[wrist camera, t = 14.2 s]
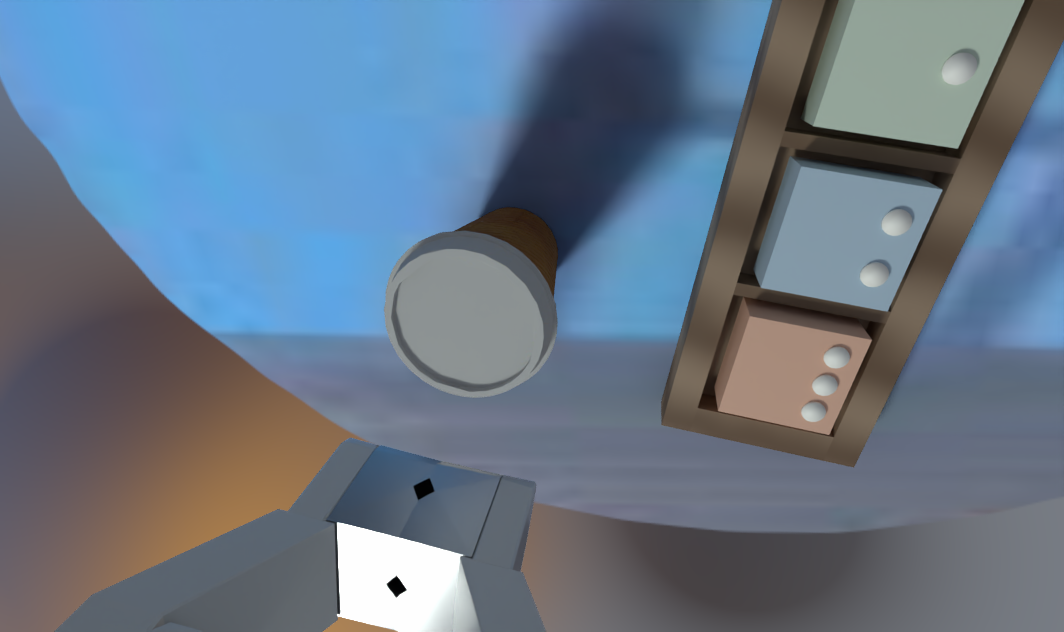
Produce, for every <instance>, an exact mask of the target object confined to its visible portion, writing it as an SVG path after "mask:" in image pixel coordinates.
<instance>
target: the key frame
mask: <svg viewBox="0 0 1064 632" xmlns="http://www.w3.org/2000/svg"><path fill="white" fill-rule="evenodd" d="M838 1H839V0H772V4H771V8H770V11H769V15H768V19H767V22H766V26H765V29H764V33H763V37H762V40H761V44H760V47H759V51H758V55H757V58H756V62H755V65H754V69H753V73H752V76H751V80H750V83H749V87H748V91H747V94H746V98H745V101H744V105H743V109H742V112H741V116H740V120H739V123H738V127H737V130H736V134H735V138H734V141H733V145H732V148H731V152H730V156H729V159H728V163H727V166H726V170H725V174H724V177H723V181H722V184H721V188H720V192H719V195H718V199H717V202H716V206H715V210H714V213H713V217H712V221H711V224H710V228H709V231H708V235H707V239H706V242H705V246H704V249H703V253H702V257H701V260H700V264H699V267H698V271H697V275H696V278H695V282H694V285H693V289H692V293H691V296H690V300H689V304H688V307H687V311H686V314H685V318H684V322H683V325H682V329H681V332H680V336H679V340H678V343H677V347H676V350H675V354H674V358H673V361H672V365H671V368H670V372H669V376H668V379H667V383H666V386H665V390H664V394H663V397H662V401H661V416H662V425H664V426H668V427H673V428H678V429H682V430H687V431H691V432H696V433H700V434H705V435H709V436H714V437H718V438H723V439H727V440H732V441H736V442H741V443H746V444H750V445H755V446H759V447H764V448H768V449H773V450H777V451H782V452H786V453H791V454H795V455H800V456H805V457H809V458H814V459H818V460H823V461H827V462H832V463H836V464H841V465H845V466H850V467H854V466H855V464H856V462H857V460H858V458H859V456H860V454H861V452H862V450H863V448H864V446H865V444H866V442H867V440H868V438H869V435H870V433H871V431H872V429H873V427H874V425H875V423H876V421H877V419H878V417H879V415H880V413H881V411H882V409H883V407H884V405H885V403H886V401H887V399H888V397H889V395H890V393H891V391H892V389H893V387H894V385H895V383H896V380H897V378H898V376H899V374H900V372H901V370H902V368H903V366H904V364H905V362H906V360H907V358H908V356H909V354H910V352H911V350H912V348H913V346H914V344H915V342H916V340H917V338H918V336H919V334H920V332H921V330H922V328H923V325H924V323H925V321H926V319H927V317H928V315H929V313H930V311H931V309H932V307H933V305H934V303H935V301H936V299H937V297H938V295H939V293H940V291H941V289H942V287H943V285H944V283H945V281H946V279H947V277H948V275H949V273H950V270H951V268H952V266H953V264H954V262H955V260H956V258H957V256H958V254H959V252H960V250H961V248H962V246H963V244H964V242H965V240H966V238H967V236H968V234H969V232H970V230H971V228H972V226H973V224H974V222H975V220H976V218H977V215H978V213H979V211H980V209H981V207H982V205H983V203H984V201H985V199H986V197H987V195H988V193H989V191H990V189H991V187H992V185H993V183H994V181H995V179H996V177H997V175H998V173H999V171H1000V169H1001V167H1002V165H1003V163H1004V160H1005V158H1006V156H1007V154H1008V152H1009V150H1010V148H1011V146H1012V144H1013V142H1014V140H1015V138H1016V136H1017V134H1018V132H1019V130H1020V128H1021V126H1022V124H1023V122H1024V120H1025V118H1026V116H1027V114H1028V112H1029V110H1030V108H1031V105H1032V103H1033V101H1034V99H1035V97H1036V95H1037V93H1038V91H1039V89H1040V87H1041V85H1042V83H1043V81H1044V79H1045V77H1046V75H1047V73H1048V71H1049V69H1050V67H1051V65H1052V63H1053V61H1054V59H1055V57H1056V55H1057V53H1058V50H1059V48H1060V46H1061V44H1062V42H1063V40H1064V0H1025V1H1024V3H1023V5H1022V7H1021V10H1020V12H1019V14H1018V16H1017V18H1016V21H1015V23H1014V25H1013V27H1012V30H1011V32H1010V34H1009V36H1008V38H1007V41H1006V43H1005V45H1004V47H1003V50H1002V52H1001V54H1000V56H999V58H998V61H997V63H996V65H995V67H994V69H993V72H992V74H991V76H990V78H989V81H988V83H987V85H986V87H985V89H984V92H983V94H982V96H981V98H980V101H979V103H978V105H977V107H976V109H975V112H974V114H973V116H972V118H971V121H970V123H969V125H968V127H967V129H966V132H965V134H964V136H963V138H962V141H961V143H960V145H959V147H958V149H956V148H950V147H943V146H937V145H931V144H924V143H918V142H911V141H905V140H899V139H892V138H886V137H879V136H873V135H867V134H860V133H854V132H847V131H841V130H835V129H828V128H822V127H815V126H812V125H810V124H809V123H807V122H805V121H804V120H802V119H801V116H802V113H803V110H804V106H805V103H806V100H807V97H808V94H809V91H810V88H811V85H812V82H813V79H814V75H815V72H816V69H817V66H818V63H819V60H820V57H821V54H822V51H823V48H824V45H825V41H826V38H827V35H828V32H829V29H830V26H831V23H832V20H833V17H834V14H835V10H836V7H837V4H838ZM790 156H794V157H800V158H806V159H812V160H818V161H825V162H831V163H837V164H843V165H849V166H855V167H862V168H868V169H874V170H880V171H886V172H892V173H898V174H905V175H911V176H917V177H921V178H922V179H924V180H926V181H928V182H930V183H931V184H933V185H935V186H937V187H939V188H941V189H942V192H941V195H940V197H939V199H938V201H937V203H936V206H935V208H934V210H933V212H932V215H931V217H930V219H929V221H928V223H927V226H926V228H925V230H924V232H923V234H922V237H921V239H920V241H919V243H918V245H917V248H916V250H915V252H914V254H913V256H912V259H911V261H910V263H909V265H908V267H907V270H906V272H905V274H904V276H903V278H902V281H901V283H900V285H899V287H898V290H897V292H896V294H895V296H894V298H893V301H892V303H891V305H890V307H889V309H888V312H887V311H881V310H876V309H871V308H866V307H860V306H855V305H850V304H844V303H839V302H834V301H829V300H823V299H818V298H813V297H807V296H802V295H797V294H792V293H786V292H781V291H776V290H770V289H765V288H761V287H760V285H759V282H758V280H757V277H756V275H755V272H754V270H753V269H754V266H755V262H756V259H757V256H758V253H759V250H760V247H761V244H762V241H763V238H764V235H765V232H766V229H767V225H768V222H769V219H770V216H771V213H772V210H773V207H774V204H775V201H776V198H777V195H778V191H779V188H780V185H781V182H782V179H783V176H784V173H785V170H786V167H787V164H788V161H789V158H790ZM743 297H748V298H753V299H759V300H764V301H769V302H774V303H779V304H785V305H790V306H795V307H800V308H806V309H811V310H816V311H821V312H826V313H832V314H837V315H842V316H847V317H852V318H857V319H858V321H859V322H860V323H861V325H862V326H863V328H864V329H865V331H866V332H867V334H868V335H869V336H870V338H871V339H872V341H871V343H870V346H869V348H868V350H867V352H866V354H865V357H864V359H863V361H862V363H861V366H860V368H859V370H858V372H857V374H856V377H855V379H854V381H853V383H852V385H851V388H850V390H849V392H848V394H847V397H846V399H845V401H844V403H843V405H842V408H841V410H840V412H839V414H838V417H837V419H836V421H835V423H834V425H833V428H832V430H831V432H830V434H829V435H827V434H822V433H818V432H813V431H808V430H804V429H799V428H794V427H790V426H785V425H780V424H776V423H771V422H766V421H762V420H757V419H753V418H748V417H743V416H739V415H734V414H729V413H725V412H720V411H718V407H717V401H716V394H715V388H714V386H715V383H716V380H717V377H718V373H719V370H720V367H721V364H722V361H723V358H724V355H725V352H726V349H727V346H728V342H729V339H730V336H731V333H732V330H733V327H734V324H735V321H736V318H737V315H738V312H739V308H740V305H741V302H742V299H743Z"/></svg>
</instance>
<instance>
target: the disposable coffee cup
mask: <svg viewBox="0 0 1064 632" xmlns="http://www.w3.org/2000/svg"><path fill="white" fill-rule="evenodd" d="M557 259H558V248H557V244H556V240H555V238H554V236H553V233H552V231H551V230H550V228H549V227H548V226H547V224H546V223H545V222H544V221H543V220H542V219H541V218H539V217H538V216H536V215H535V214H533V213H531V212H529V211H527V210H524V209H519V208H511V207H506V208H501V209H497V210H495V211H492V212H490V213H488V214H486V215H485V216H483V217H481V218H479V219H477V220H475V221H473V222H471V223H469V224H467V225H465V226H463V227H461V228H459V229H457V230H455V231H453V232H442V233H438V234H436V235H433V236H431V237H428V238H426V239H424V240H421V241H420V242H418V243H417V244H415V245H414V246H412V247H411V248H410V249H408V250H407V251H406V253H405V254H404V255H403V256H402V257H401V258H400V259H399V260H398V262H397V263H396V265H395V266H394V268H393V270H392V272H391V275H390V277H389V281H388V285H387V289H386V302H385V307H384V312H385V323H386V329H387V332H388V335H389V338H390V341H391V343H392V345H393V347H394V349H395V351H396V352H397V354H398V356H399V357H400V358H401V360H402V361H403V362H404V363H405V365H406V366H407V367H408V368H409V369H410V370H411V371H412V372H413V373H414V374H415V375H417V376H418V377H419V378H421V379H422V380H423V381H425V382H426V383H428V384H430V385H431V386H433V387H435V388H437V389H439V390H442V391H444V392H447V393H450V394H454V395H458V396H463V397H473V398H475V397H489V396H493V395H497V394H500V393H503V392H505V391H508V390H510V389H512V388H514V387H515V386H518V385H519V384H521V383H523V382H525V381H526V380H528V379H529V378H531V377H532V376H533V375H534V374H535V373H536V372H538V371H539V370H540V368H541V367H542V366H543V364H544V363H545V362H546V360H547V359H548V357H549V355H550V353H551V351H552V349H553V346H554V342H555V339H556V334H557V313H556V304H555V301H554V288H555V278H556V268H557Z"/></svg>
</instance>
